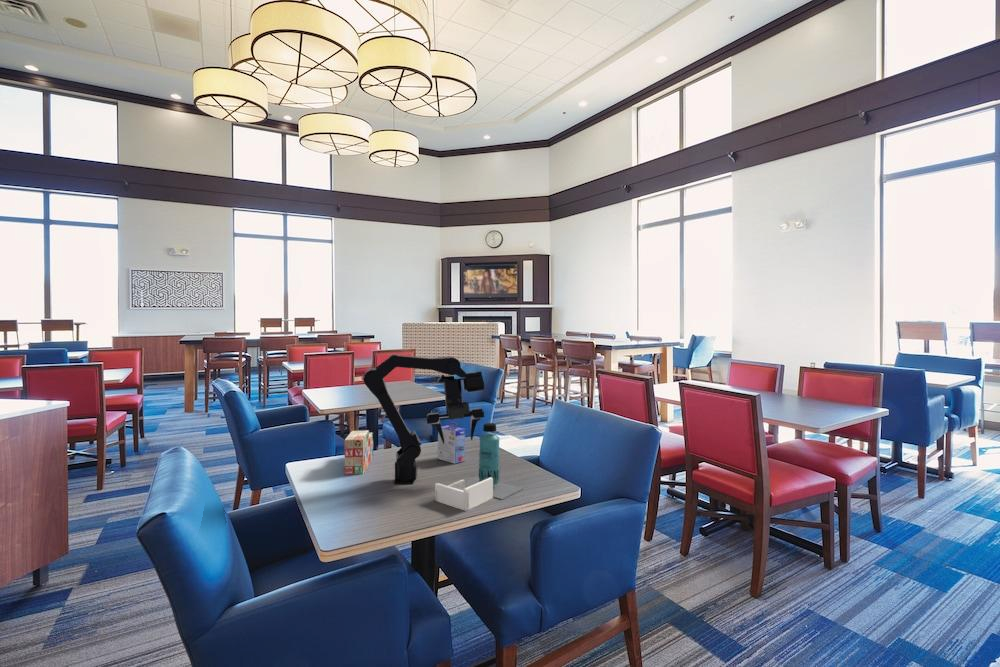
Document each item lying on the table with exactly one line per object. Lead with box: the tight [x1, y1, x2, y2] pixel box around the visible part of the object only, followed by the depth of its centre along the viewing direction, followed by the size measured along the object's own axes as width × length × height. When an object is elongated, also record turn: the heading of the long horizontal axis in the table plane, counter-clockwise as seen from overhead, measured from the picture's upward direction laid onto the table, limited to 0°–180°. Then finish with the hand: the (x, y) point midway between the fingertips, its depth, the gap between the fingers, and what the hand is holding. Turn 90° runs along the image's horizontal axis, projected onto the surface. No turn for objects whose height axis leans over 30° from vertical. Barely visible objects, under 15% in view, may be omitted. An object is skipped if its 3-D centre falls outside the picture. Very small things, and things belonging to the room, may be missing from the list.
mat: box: [465, 475, 524, 501], centre depth 148 cm, size 18×11×1 cm, turn 53°
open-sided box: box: [434, 477, 494, 512], centre depth 138 cm, size 12×12×6 cm
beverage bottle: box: [478, 422, 500, 485], centre depth 148 cm, size 6×7×20 cm
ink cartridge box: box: [437, 420, 466, 465], centre depth 176 cm, size 10×6×14 cm, turn 49°
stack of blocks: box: [344, 429, 374, 476], centre depth 170 cm, size 21×6×12 cm, turn 6°
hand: (457, 441), depth 156 cm, fingers open, 9 cm apart
